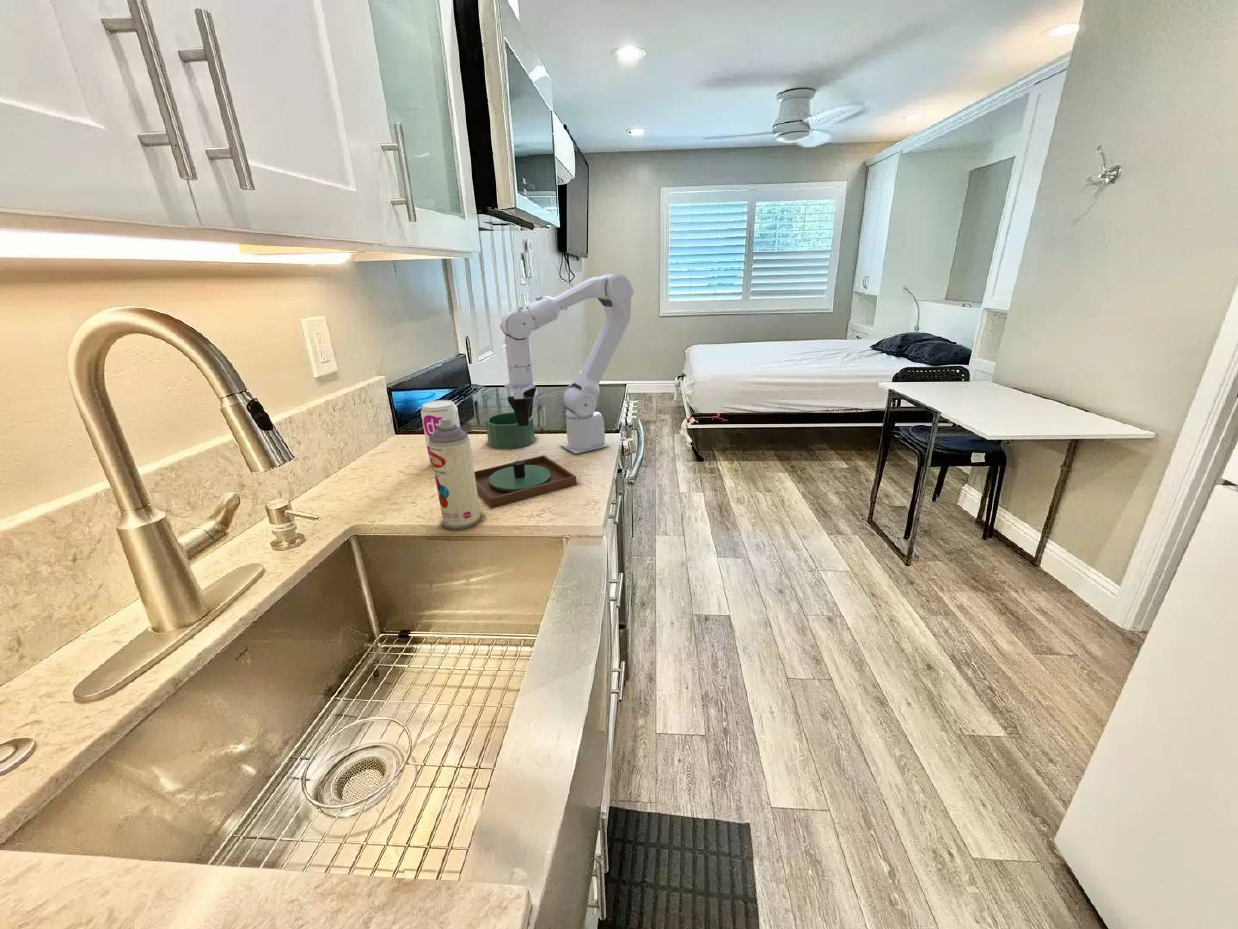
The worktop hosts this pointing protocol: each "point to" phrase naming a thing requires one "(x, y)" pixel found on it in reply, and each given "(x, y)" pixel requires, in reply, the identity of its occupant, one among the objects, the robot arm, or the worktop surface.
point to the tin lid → (519, 477)
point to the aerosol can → (454, 476)
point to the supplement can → (437, 417)
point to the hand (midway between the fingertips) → (525, 420)
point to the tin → (508, 431)
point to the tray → (499, 497)
